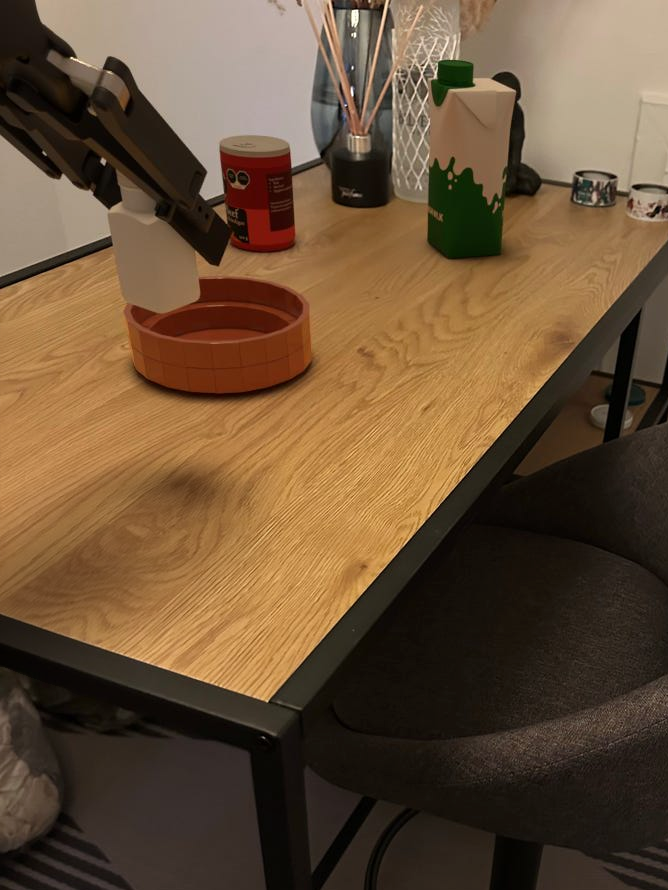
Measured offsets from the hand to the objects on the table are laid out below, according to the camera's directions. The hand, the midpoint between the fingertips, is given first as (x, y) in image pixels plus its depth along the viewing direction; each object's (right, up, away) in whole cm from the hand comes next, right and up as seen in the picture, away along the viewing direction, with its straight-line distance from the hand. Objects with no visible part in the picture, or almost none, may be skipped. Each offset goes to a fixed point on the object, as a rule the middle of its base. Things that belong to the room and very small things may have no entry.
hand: (192, 240), depth 65 cm
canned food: (-6, +21, +49) cm, 54 cm away
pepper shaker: (-2, -5, -1) cm, 5 cm away
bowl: (-4, -2, +23) cm, 23 cm away
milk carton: (+18, +21, +52) cm, 59 cm away
